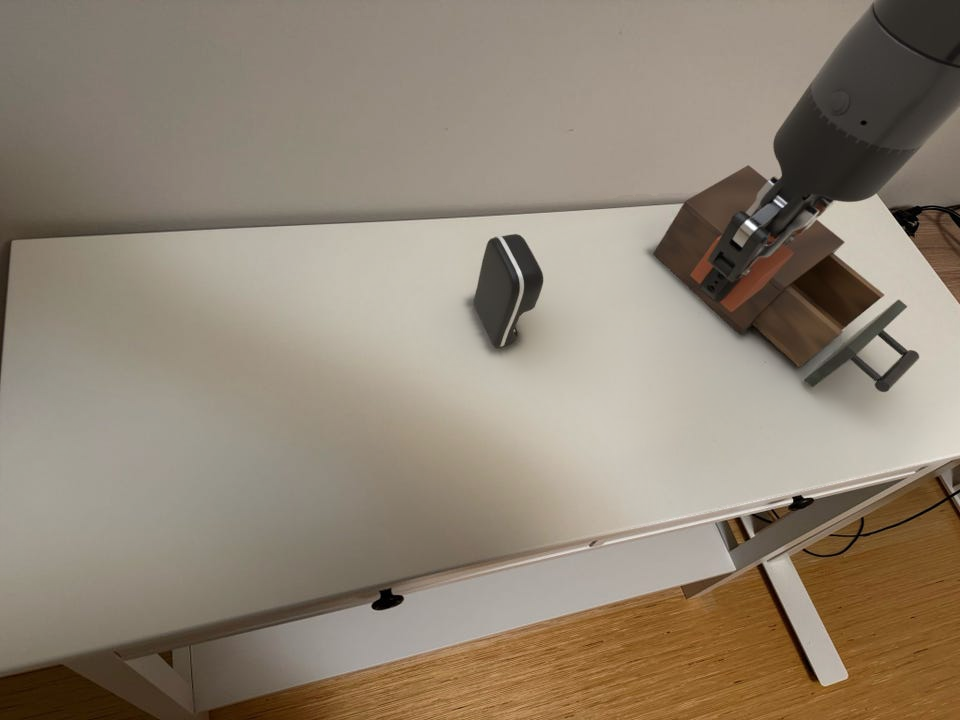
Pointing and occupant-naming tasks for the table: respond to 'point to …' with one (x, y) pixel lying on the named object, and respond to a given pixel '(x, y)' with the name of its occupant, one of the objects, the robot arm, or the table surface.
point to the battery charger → (506, 286)
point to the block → (748, 282)
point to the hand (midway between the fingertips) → (729, 279)
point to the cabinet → (709, 220)
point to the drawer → (832, 321)
